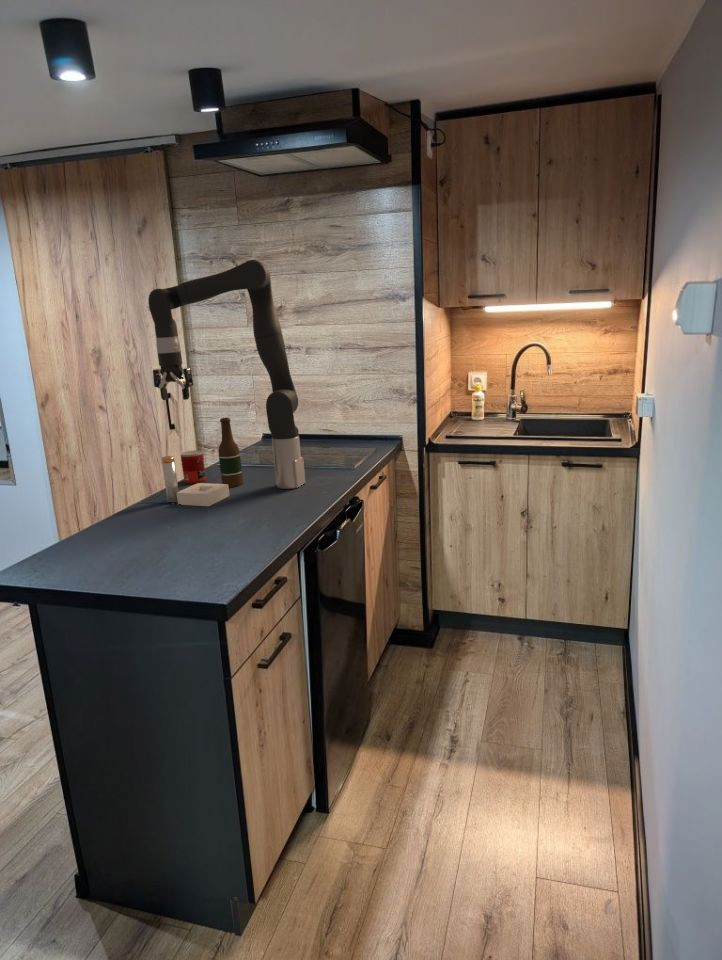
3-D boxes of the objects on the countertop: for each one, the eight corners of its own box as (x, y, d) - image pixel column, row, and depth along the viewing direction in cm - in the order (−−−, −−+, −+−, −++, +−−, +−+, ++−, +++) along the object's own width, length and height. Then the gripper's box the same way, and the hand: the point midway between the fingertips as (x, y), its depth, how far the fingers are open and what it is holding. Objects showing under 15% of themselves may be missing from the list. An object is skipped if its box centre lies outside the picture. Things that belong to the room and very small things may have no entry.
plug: (182, 499, 225) (176, 456, 222) (175, 503, 222) (168, 458, 218) (172, 499, 227) (166, 455, 223) (165, 502, 223) (158, 458, 220)
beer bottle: (246, 481, 244) (238, 415, 238) (240, 487, 236) (232, 419, 230) (225, 482, 245) (217, 416, 239) (219, 488, 237) (210, 420, 231)
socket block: (229, 495, 226) (228, 484, 225) (208, 506, 216) (207, 494, 215) (199, 494, 231) (198, 482, 230) (178, 504, 220) (176, 492, 219)
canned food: (203, 483, 245) (199, 454, 242) (181, 485, 245) (177, 455, 243) (208, 478, 252) (204, 449, 250) (187, 479, 253) (183, 451, 250)
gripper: (193, 349, 225) (199, 397, 229) (158, 350, 230) (165, 398, 234) (179, 351, 218) (186, 401, 222) (144, 352, 223) (151, 401, 228)
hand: (175, 399), depth 228 cm, fingers open, 8 cm apart
